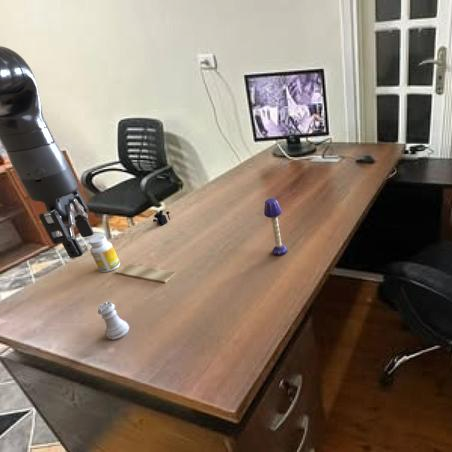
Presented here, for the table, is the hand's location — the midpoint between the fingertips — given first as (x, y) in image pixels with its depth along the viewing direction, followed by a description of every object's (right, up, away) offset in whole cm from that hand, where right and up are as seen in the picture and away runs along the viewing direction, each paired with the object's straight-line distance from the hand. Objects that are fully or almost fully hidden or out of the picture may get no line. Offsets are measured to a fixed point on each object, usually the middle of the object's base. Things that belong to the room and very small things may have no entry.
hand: (83, 245), depth 71 cm
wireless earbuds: (-9, +4, +52) cm, 53 cm away
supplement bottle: (-14, -8, +30) cm, 34 cm away
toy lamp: (+36, -4, +29) cm, 46 cm away
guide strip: (-1, -9, +26) cm, 27 cm away
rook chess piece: (+3, -20, +6) cm, 21 cm away
